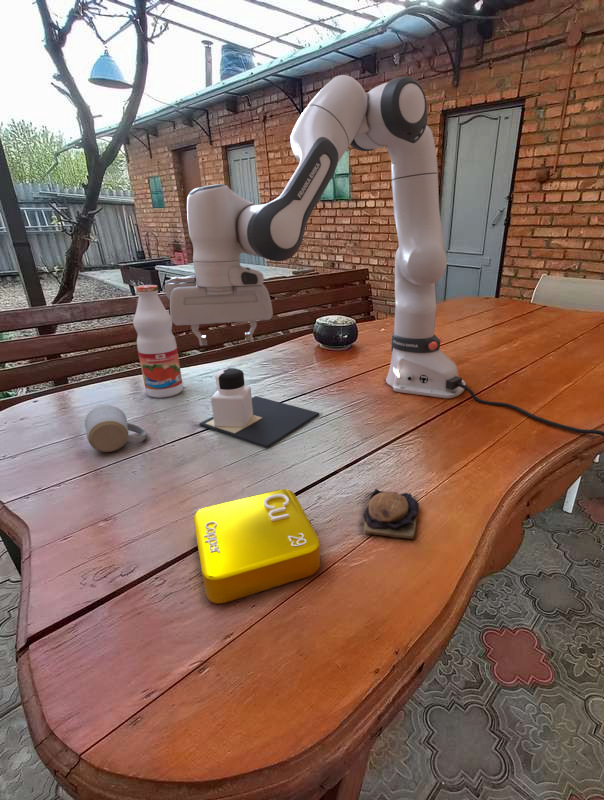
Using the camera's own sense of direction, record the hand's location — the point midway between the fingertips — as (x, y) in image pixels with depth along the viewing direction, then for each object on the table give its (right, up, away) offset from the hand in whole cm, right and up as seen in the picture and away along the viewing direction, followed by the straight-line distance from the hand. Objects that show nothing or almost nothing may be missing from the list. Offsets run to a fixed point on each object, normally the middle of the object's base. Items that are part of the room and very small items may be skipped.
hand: (226, 343), depth 90 cm
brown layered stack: (+32, -31, -22) cm, 50 cm away
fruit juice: (-24, -10, +25) cm, 36 cm away
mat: (+5, -17, +9) cm, 20 cm away
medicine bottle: (0, -17, +7) cm, 18 cm away
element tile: (+13, -34, -30) cm, 47 cm away
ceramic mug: (-22, -21, -1) cm, 31 cm away
